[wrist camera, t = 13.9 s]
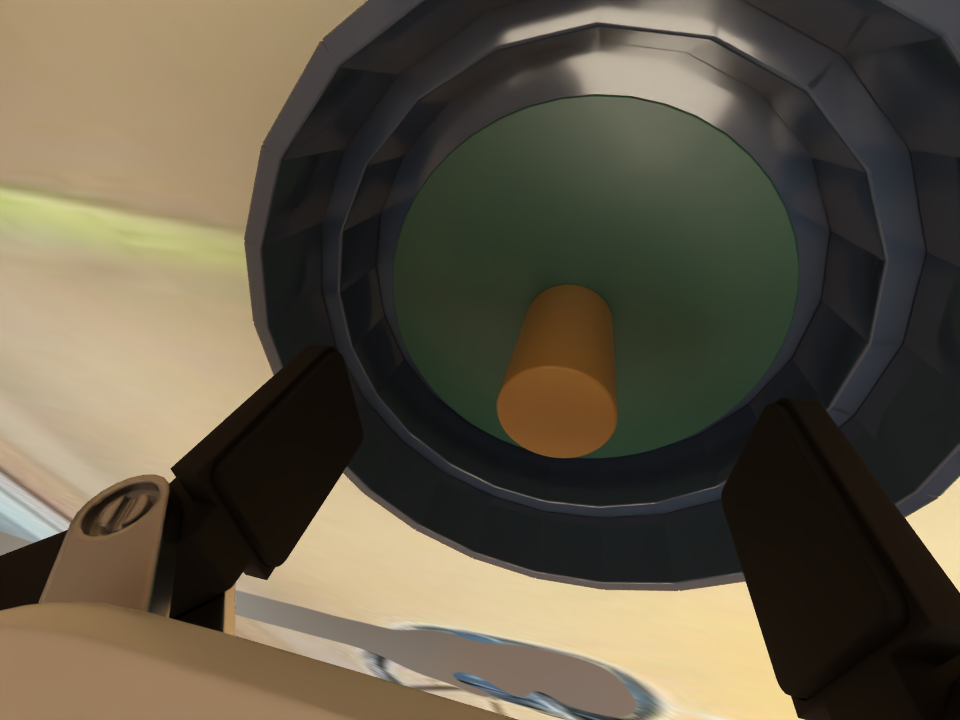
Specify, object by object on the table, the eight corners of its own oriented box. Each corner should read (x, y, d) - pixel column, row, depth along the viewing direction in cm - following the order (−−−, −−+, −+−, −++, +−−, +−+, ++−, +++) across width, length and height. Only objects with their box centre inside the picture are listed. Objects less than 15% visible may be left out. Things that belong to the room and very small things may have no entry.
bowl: (391, 434, 22) (332, 529, 17) (306, 11, 12) (108, -48, 7) (744, 497, 18) (796, 642, 13) (1050, -54, 8) (1708, -276, 3)
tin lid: (421, 417, 20) (362, 521, 15) (378, 100, 12) (232, 101, 8) (710, 464, 17) (756, 613, 12) (879, 86, 9) (1179, 73, 5)
